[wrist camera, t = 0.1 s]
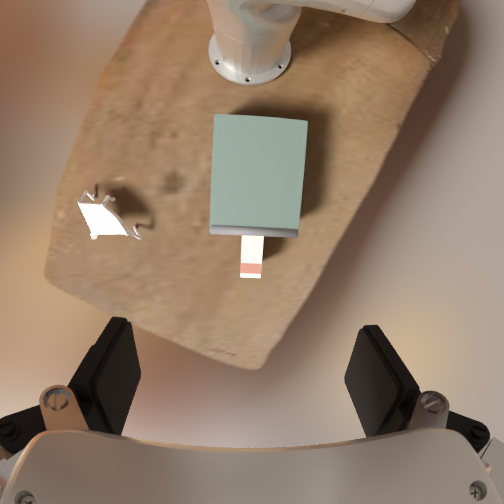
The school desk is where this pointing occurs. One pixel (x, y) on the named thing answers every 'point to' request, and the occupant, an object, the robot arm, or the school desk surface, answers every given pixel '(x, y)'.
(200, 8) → the school desk surface
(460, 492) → the robot arm
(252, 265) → the pink-banded cream bar
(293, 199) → the block
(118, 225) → the white scroll-footed stand
